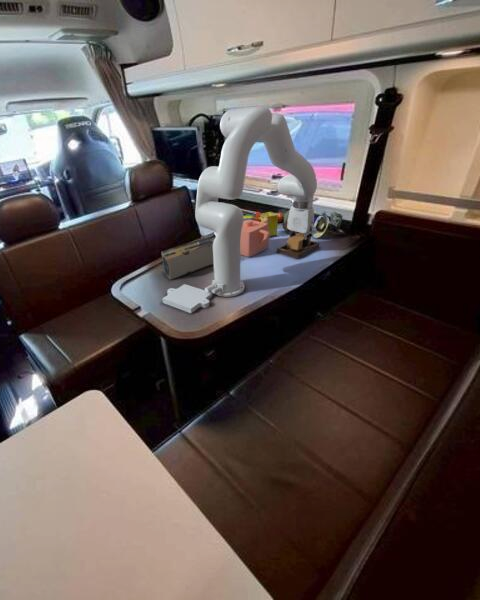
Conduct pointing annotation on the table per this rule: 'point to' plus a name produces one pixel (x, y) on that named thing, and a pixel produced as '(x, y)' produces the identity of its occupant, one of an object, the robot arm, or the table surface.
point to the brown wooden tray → (297, 253)
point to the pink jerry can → (254, 237)
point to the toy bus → (187, 258)
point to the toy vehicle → (336, 219)
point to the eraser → (283, 211)
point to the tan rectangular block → (296, 241)
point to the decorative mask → (258, 217)
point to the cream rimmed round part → (326, 226)
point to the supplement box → (271, 222)
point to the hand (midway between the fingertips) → (298, 244)
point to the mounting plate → (187, 298)
